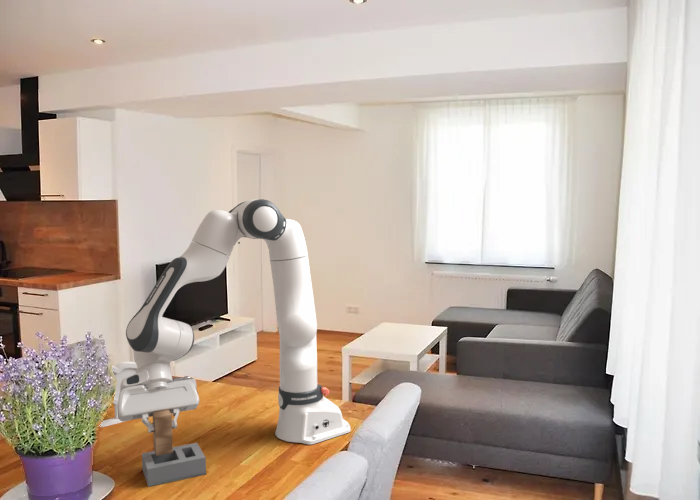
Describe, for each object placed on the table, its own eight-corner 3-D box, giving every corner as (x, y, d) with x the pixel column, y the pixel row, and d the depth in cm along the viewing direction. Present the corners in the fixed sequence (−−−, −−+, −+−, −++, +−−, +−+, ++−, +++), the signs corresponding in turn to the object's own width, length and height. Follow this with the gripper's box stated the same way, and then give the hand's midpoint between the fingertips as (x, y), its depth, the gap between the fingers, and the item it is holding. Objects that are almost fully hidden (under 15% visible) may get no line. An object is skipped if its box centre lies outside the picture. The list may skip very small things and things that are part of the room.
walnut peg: (169, 446, 155) (168, 409, 154) (172, 452, 152) (171, 414, 151) (153, 449, 153) (152, 412, 152) (156, 455, 150) (155, 417, 149)
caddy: (197, 458, 162) (196, 442, 161) (206, 474, 153) (205, 457, 152) (142, 469, 155) (141, 453, 155) (148, 486, 146) (147, 469, 146)
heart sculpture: (95, 428, 182) (92, 371, 180) (90, 423, 186) (87, 367, 184) (145, 415, 192) (143, 361, 190) (139, 411, 196) (137, 358, 194)
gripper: (192, 380, 166) (202, 427, 158) (114, 392, 156) (120, 442, 149) (196, 369, 161) (205, 417, 154) (115, 380, 152) (121, 432, 144)
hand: (162, 429), depth 151 cm, fingers closed on walnut peg, 4 cm apart
